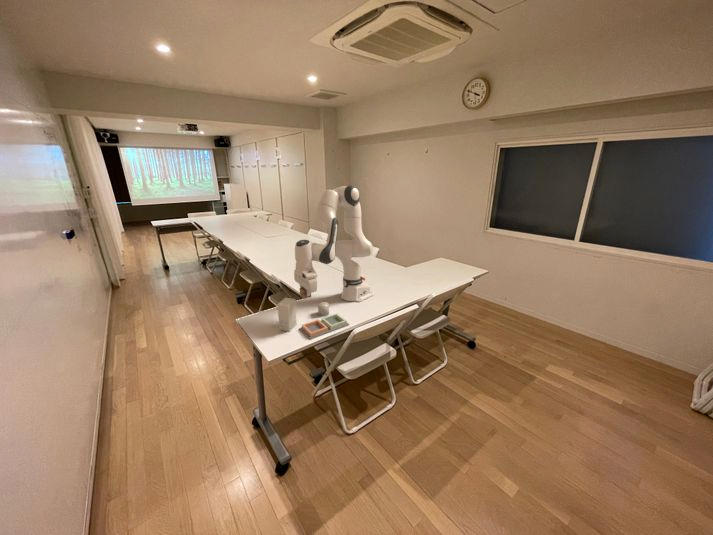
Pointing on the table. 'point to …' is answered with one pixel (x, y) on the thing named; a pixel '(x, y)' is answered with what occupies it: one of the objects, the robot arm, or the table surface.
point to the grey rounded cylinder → (323, 309)
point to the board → (323, 326)
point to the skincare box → (287, 314)
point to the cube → (304, 293)
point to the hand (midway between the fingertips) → (305, 293)
